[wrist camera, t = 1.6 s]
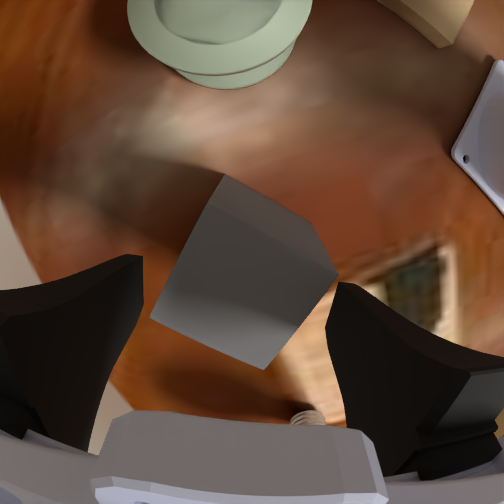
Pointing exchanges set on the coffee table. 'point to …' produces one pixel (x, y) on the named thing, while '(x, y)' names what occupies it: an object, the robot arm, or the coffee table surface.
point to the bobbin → (219, 37)
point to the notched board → (433, 17)
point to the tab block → (245, 276)
